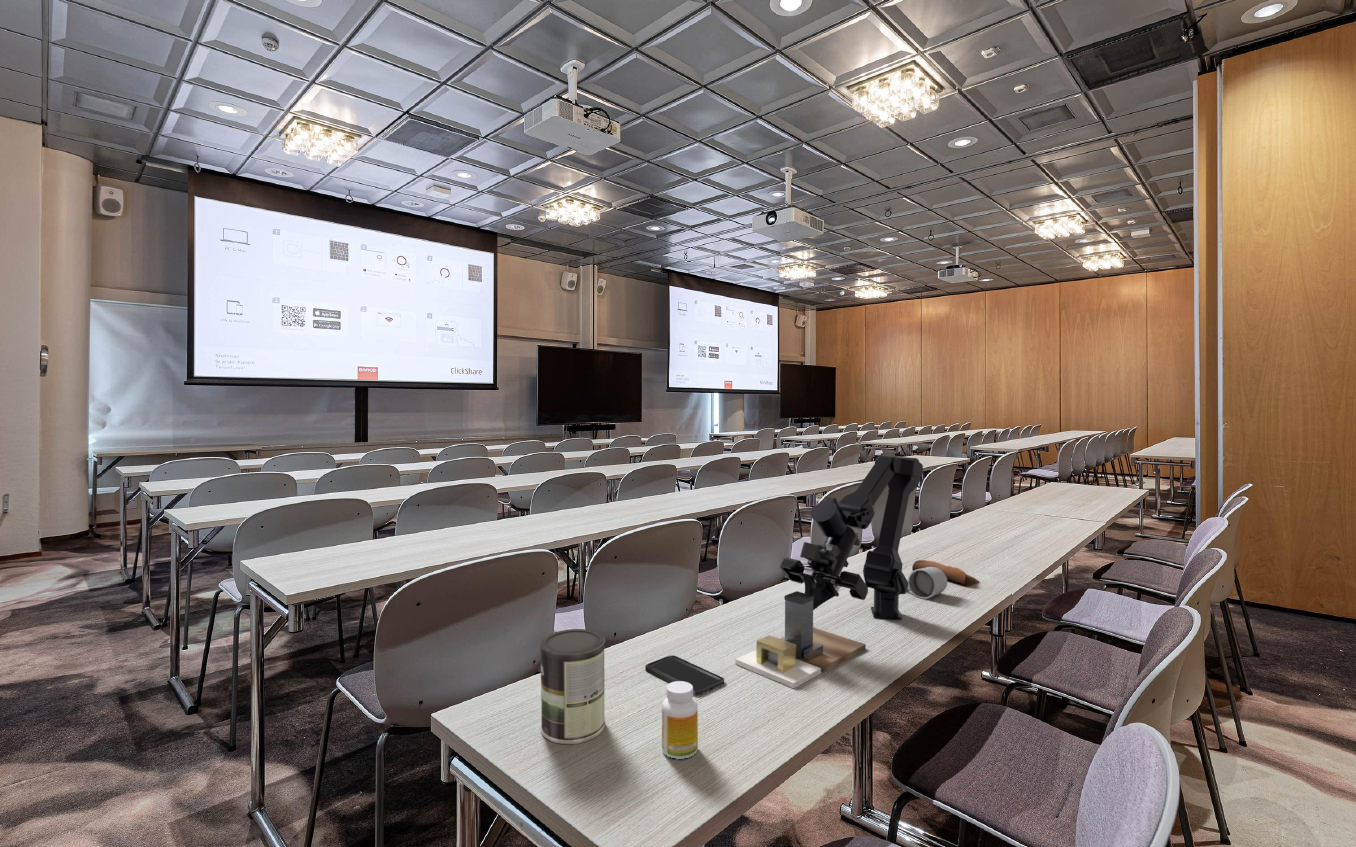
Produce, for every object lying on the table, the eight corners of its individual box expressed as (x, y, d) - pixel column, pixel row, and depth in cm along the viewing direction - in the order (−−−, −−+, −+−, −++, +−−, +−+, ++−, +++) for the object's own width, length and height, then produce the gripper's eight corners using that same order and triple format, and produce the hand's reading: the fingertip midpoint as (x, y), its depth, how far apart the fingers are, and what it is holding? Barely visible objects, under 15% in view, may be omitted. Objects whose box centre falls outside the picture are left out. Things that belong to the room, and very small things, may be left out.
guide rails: (793, 643, 130) (793, 634, 129) (823, 653, 124) (823, 644, 124) (779, 650, 126) (779, 641, 126) (808, 661, 121) (808, 652, 121)
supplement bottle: (705, 752, 92) (705, 688, 91) (675, 765, 89) (675, 699, 88) (683, 736, 96) (683, 675, 96) (654, 747, 93) (654, 684, 93)
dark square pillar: (796, 645, 128) (796, 591, 127) (813, 651, 125) (814, 595, 124) (765, 660, 121) (766, 602, 120) (783, 666, 118) (783, 607, 117)
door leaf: (809, 630, 139) (809, 625, 139) (865, 648, 129) (865, 644, 129) (765, 650, 128) (765, 645, 128) (822, 672, 118) (822, 667, 118)
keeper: (769, 656, 123) (769, 634, 123) (795, 666, 119) (795, 644, 118) (756, 662, 120) (756, 640, 120) (782, 672, 116) (783, 650, 116)
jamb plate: (763, 651, 128) (763, 646, 128) (820, 673, 118) (820, 668, 118) (735, 663, 122) (735, 658, 122) (793, 688, 112) (793, 682, 112)
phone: (672, 654, 125) (726, 679, 114) (672, 659, 125) (726, 685, 114) (642, 665, 119) (696, 692, 108) (642, 671, 119) (696, 699, 108)
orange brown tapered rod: (983, 582, 175) (976, 563, 173) (970, 597, 172) (963, 579, 170) (929, 567, 191) (922, 550, 189) (916, 581, 188) (909, 564, 186)
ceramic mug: (949, 595, 164) (949, 566, 164) (935, 602, 158) (935, 572, 158) (911, 586, 172) (911, 559, 172) (896, 593, 166) (896, 564, 166)
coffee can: (531, 742, 94) (530, 652, 94) (552, 708, 104) (551, 627, 104) (597, 746, 93) (596, 655, 93) (611, 712, 103) (611, 629, 103)
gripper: (785, 520, 136) (752, 580, 128) (861, 534, 122) (830, 602, 115) (805, 550, 141) (775, 608, 134) (880, 566, 128) (851, 632, 121)
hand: (805, 612), depth 126 cm, fingers closed, pressing on dark square pillar
